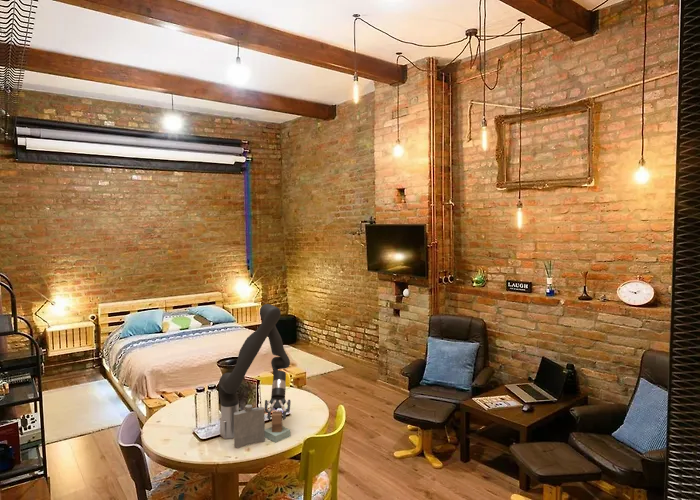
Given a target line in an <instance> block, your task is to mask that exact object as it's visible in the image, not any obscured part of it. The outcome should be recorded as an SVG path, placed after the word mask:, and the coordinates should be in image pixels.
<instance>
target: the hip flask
mask: <svg viewBox="0 0 700 500" xmlns="http://www.w3.org/2000/svg"><path fill="white" fill-rule="evenodd" d="M244 408H245V409H243V410H240V411H239V412H235V413H234V438H233V442H234V444H233V445H234V446H233V447H234V449H240V448H243V447H246V446H250V445H254V444H258V443H259V444H260V443H264V442H265V441H266V438H265V429H266V427H265V426H266V424H265V423H266V422H265V406H261V407H260V406H259V407H253V405H252V404H246V405H245V406H244Z"/></svg>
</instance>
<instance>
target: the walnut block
mask: <svg viewBox="0 0 700 500" xmlns="http://www.w3.org/2000/svg"><path fill="white" fill-rule="evenodd" d="M271 413H272V414H271V427H272V432H282V426H283V410H282V411H279V410H278V411H272V412H271Z"/></svg>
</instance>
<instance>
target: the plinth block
mask: <svg viewBox="0 0 700 500" xmlns="http://www.w3.org/2000/svg"><path fill="white" fill-rule="evenodd" d="M290 437H291V429H290V428H288V427H286V426H283V425H282V432H272V426H270V427H268V428H265V439H267V440H270V441H271V442H273V443H274V444H275V443H279V442H281V441H283V440H285V439H287V438H290ZM278 441H279V442H278Z"/></svg>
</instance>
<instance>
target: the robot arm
mask: <svg viewBox="0 0 700 500" xmlns="http://www.w3.org/2000/svg"><path fill="white" fill-rule="evenodd" d="M260 307H261V308H260V309H259V315H260V319H261V320H262V322H261V324H260V325H259V326H258V328H257V329H256V330H255V331H254V332H252V333H251V334H249V336H248V337H247V338H246V339H245V341H244V342H243V344H242V345H241V348H240V350H239V352H238V356H237V361H236V363H235V365H234V368H233V369H232V371H231V372H225V373H223V374H222V375H221V376H220V377H219V381H218V391H219V394H218V395H219V399H220V418H219V433H220V434H219V435H220V436H221V437H222V438H223V439H224V440H226V439H234V413H235V412H239V410H240V407H239V404H240V402H239V395H238V392H237V391H238V390H239V388H241V385H242V382H243V381H244V378H245V376H246V374H247V372H248V370H249V369H250V367H251V366H252V364H253V362H254V360H255V358H256V357H257V355H258V353H259V351H260V350H261V348H262V346H263V345H264V343H265V341H266V339H267V338H268V341H269V346H270V350H271V353H272V355H273V356H275V357H272V358H271V361H270V363H271V365H270V366H271V368H272V386H271V395H270V396H271V397H270V399H269V400H268V399H265V400H264V413H267V419H268V421H271V419H272V414H271V413H272V412H273V410H274V409H282V421H285V419H286V418H287V414H288V413H289V412H291V402H292V401H291V399H286V390H287V389H286V387H287V386H286V381H287V380H286V378H287V374H286V372H285V371H284V369H288V368H289V367H290V365H291V360H290V358H289V356H288V354H287V353H286V351H285V348H284V343H283V339H282V337H281V334H280V333H279V330H278V328H277V326H276V325H277V323H278V322H279V320H280V318H281V315H282V312H281V309H280V308H278V307H277V306H274V305H272V304H271V303H270V304H269V303H266V304H263V305H262V306H260ZM285 404H286V405H287V408H286V407H285ZM269 405H270V407H269ZM268 407H269V408H268Z"/></svg>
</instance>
